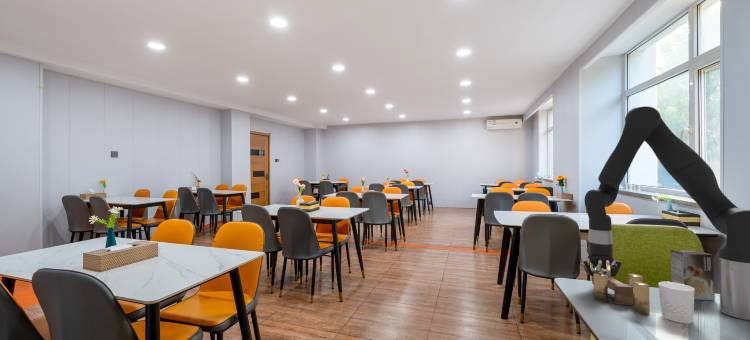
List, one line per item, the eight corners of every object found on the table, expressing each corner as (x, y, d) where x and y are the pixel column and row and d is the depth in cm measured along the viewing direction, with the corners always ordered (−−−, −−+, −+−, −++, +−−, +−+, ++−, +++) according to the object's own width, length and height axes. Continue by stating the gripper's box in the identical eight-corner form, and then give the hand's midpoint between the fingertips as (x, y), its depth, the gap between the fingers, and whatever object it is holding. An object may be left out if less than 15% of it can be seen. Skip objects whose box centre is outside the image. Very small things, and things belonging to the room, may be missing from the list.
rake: (590, 287, 120) (590, 271, 120) (604, 287, 120) (604, 272, 120) (617, 304, 104) (617, 286, 104) (633, 305, 103) (633, 287, 104)
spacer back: (643, 310, 100) (643, 282, 101) (653, 315, 96) (652, 286, 97) (630, 309, 101) (629, 281, 101) (639, 314, 97) (638, 285, 97)
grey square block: (620, 299, 110) (620, 294, 110) (628, 304, 105) (628, 298, 106) (607, 299, 110) (607, 293, 110) (615, 304, 106) (615, 298, 106)
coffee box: (700, 294, 113) (699, 250, 114) (715, 301, 107) (714, 254, 108) (671, 292, 115) (670, 249, 116) (684, 299, 109) (682, 253, 110)
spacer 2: (637, 299, 109) (637, 274, 109) (646, 304, 105) (645, 277, 105) (625, 299, 109) (624, 273, 110) (633, 303, 105) (632, 277, 106)
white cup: (703, 326, 90) (702, 291, 90) (671, 323, 91) (670, 289, 91) (682, 314, 97) (681, 282, 98) (653, 312, 99) (652, 280, 99)
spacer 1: (603, 298, 110) (603, 272, 110) (610, 302, 106) (610, 276, 106) (591, 297, 111) (591, 272, 111) (598, 302, 107) (597, 276, 107)
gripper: (585, 243, 115) (586, 289, 115) (627, 243, 113) (628, 291, 113) (575, 239, 122) (576, 282, 122) (613, 239, 121) (614, 284, 120)
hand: (601, 286), depth 117 cm, fingers closed on rake, 3 cm apart
